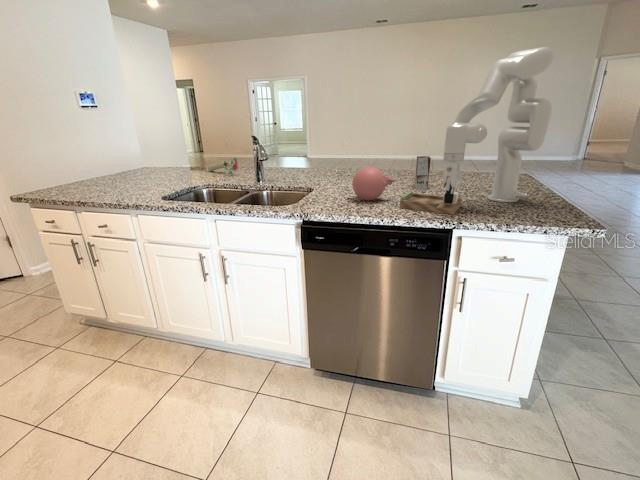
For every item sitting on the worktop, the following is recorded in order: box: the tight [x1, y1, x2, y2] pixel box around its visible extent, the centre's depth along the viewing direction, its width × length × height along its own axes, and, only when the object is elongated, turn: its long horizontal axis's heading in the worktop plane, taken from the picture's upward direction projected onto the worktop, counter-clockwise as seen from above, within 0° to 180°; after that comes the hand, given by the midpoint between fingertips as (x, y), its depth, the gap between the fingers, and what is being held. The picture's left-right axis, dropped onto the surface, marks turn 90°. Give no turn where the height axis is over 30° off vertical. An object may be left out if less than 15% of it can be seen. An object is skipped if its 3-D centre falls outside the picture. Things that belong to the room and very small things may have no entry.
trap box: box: [399, 190, 463, 216], centre depth 144 cm, size 22×15×4 cm
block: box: [443, 191, 460, 204], centre depth 143 cm, size 5×5×4 cm
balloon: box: [351, 166, 397, 201], centre depth 156 cm, size 15×20×15 cm
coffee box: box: [414, 155, 432, 190], centre depth 179 cm, size 9×6×16 cm
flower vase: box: [207, 157, 239, 175], centre depth 236 cm, size 12×12×35 cm
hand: (448, 202), depth 139 cm, fingers closed
